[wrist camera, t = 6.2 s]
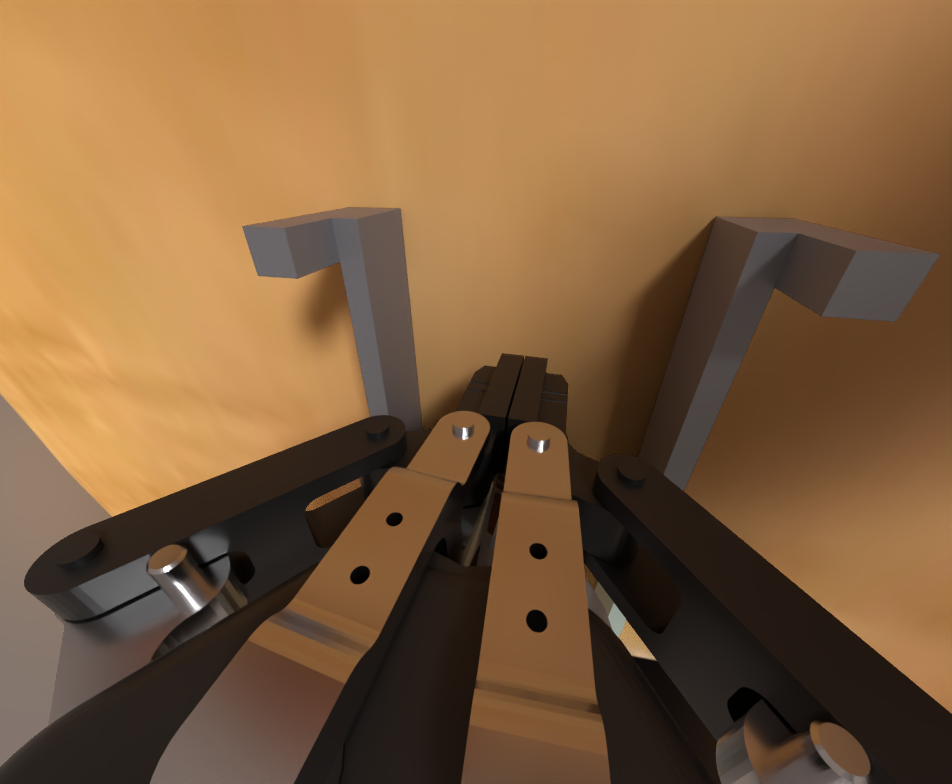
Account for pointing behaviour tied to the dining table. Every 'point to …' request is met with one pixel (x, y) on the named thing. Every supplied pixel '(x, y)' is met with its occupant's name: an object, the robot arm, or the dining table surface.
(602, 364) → the dining table surface
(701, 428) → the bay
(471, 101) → the dining table surface
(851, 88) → the dining table surface
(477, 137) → the dining table surface
